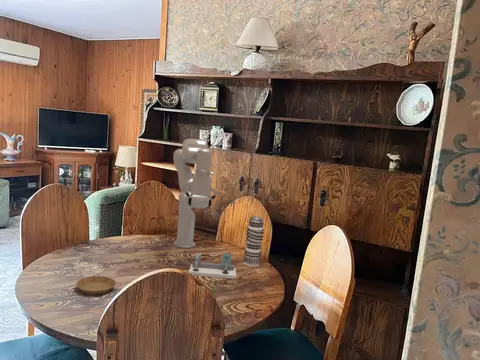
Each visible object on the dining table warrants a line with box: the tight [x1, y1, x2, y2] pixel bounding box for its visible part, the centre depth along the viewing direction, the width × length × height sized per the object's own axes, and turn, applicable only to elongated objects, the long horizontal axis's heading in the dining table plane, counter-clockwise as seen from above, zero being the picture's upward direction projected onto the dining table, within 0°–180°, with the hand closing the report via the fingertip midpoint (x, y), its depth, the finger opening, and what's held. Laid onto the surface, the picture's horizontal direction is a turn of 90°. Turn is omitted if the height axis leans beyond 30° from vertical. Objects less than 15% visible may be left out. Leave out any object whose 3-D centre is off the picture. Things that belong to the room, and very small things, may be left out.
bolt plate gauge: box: [188, 253, 237, 280], centre depth 185 cm, size 10×22×8 cm, turn 92°
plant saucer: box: [76, 275, 116, 296], centre depth 155 cm, size 15×15×3 cm
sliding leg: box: [221, 252, 232, 272], centre depth 185 cm, size 8×4×7 cm, turn 2°
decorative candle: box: [243, 216, 265, 267], centre depth 202 cm, size 9×9×25 cm
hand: (199, 206), depth 197 cm, fingers open, 9 cm apart
